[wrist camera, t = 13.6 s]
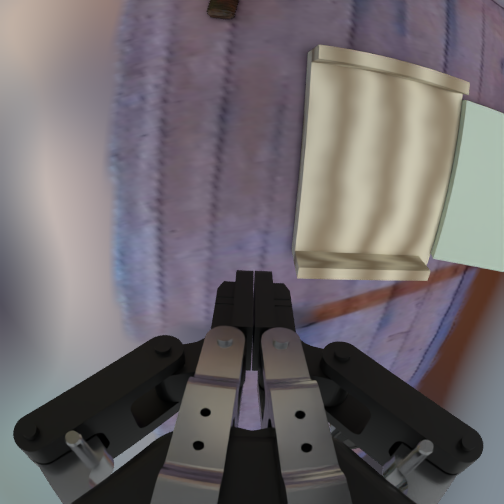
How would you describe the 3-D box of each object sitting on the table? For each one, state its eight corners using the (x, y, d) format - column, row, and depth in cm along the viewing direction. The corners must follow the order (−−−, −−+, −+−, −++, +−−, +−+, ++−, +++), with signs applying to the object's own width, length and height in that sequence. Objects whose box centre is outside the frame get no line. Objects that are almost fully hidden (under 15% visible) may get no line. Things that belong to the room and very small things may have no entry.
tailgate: (433, 258, 39) (507, 272, 36) (466, 100, 28) (545, 132, 25) (429, 251, 41) (502, 265, 38) (460, 99, 30) (538, 129, 27)
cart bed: (291, 249, 43) (297, 278, 37) (307, 52, 31) (319, 44, 25) (418, 255, 44) (438, 280, 38) (451, 84, 31) (481, 87, 25)
